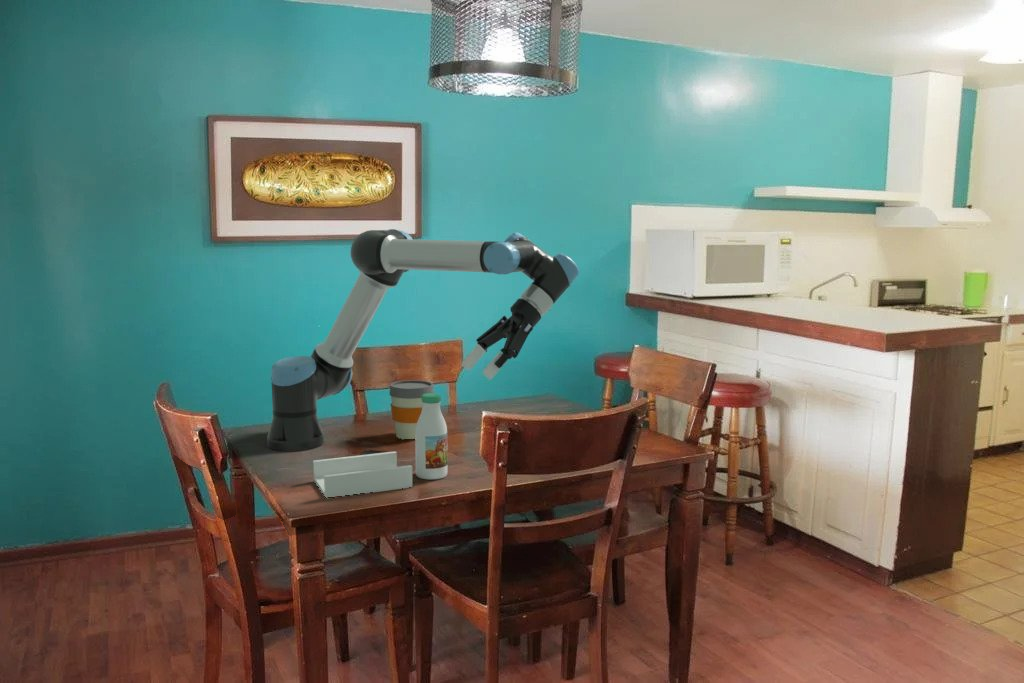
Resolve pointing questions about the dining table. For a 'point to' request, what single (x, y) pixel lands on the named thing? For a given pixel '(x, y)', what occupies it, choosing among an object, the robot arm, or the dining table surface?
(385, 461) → the duct channel
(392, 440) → the dining table surface
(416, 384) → the reusable coffee cup
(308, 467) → the dining table surface
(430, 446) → the milk bottle
